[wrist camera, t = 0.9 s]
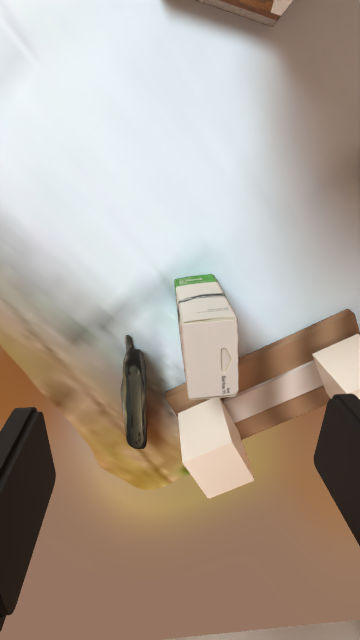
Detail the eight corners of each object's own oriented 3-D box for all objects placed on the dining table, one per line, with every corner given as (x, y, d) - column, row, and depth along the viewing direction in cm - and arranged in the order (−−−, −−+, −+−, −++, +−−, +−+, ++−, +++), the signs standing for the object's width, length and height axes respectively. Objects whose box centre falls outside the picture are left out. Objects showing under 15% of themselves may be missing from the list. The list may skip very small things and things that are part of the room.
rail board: (347, 308, 40) (357, 315, 38) (367, 377, 45) (376, 386, 43) (165, 392, 43) (165, 401, 41) (202, 447, 48) (204, 459, 46)
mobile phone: (149, 451, 41) (142, 354, 35) (126, 453, 41) (115, 356, 35) (149, 424, 46) (144, 333, 39) (129, 425, 46) (119, 334, 39)
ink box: (172, 277, 37) (180, 320, 26) (215, 273, 37) (239, 313, 26) (179, 343, 40) (188, 404, 29) (217, 338, 40) (240, 398, 30)
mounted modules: (357, 333, 39) (404, 369, 32) (369, 376, 42) (414, 418, 35) (177, 413, 42) (182, 462, 35) (200, 448, 45) (209, 500, 38)
